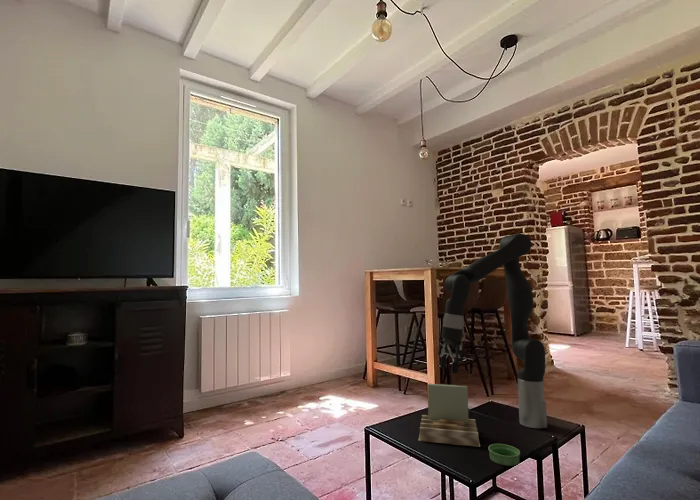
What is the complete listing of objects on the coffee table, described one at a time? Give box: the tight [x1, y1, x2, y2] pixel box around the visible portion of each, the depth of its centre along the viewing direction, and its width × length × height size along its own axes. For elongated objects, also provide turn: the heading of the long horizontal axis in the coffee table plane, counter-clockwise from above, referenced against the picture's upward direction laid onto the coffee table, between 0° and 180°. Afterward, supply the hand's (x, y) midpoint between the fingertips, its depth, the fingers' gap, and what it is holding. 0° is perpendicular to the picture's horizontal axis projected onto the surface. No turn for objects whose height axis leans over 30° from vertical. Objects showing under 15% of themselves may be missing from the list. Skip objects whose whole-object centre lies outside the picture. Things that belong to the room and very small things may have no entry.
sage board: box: [427, 383, 469, 423], centre depth 136 cm, size 14×2×16 cm, turn 76°
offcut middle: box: [439, 419, 463, 426], centre depth 131 cm, size 8×2×5 cm, turn 76°
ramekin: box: [488, 443, 521, 467], centre depth 113 cm, size 9×9×4 cm
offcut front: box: [433, 422, 458, 430], centre depth 128 cm, size 8×2×5 cm, turn 76°
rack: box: [417, 414, 481, 448], centre depth 131 cm, size 20×14×6 cm
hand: (448, 370), depth 139 cm, fingers open, 8 cm apart
